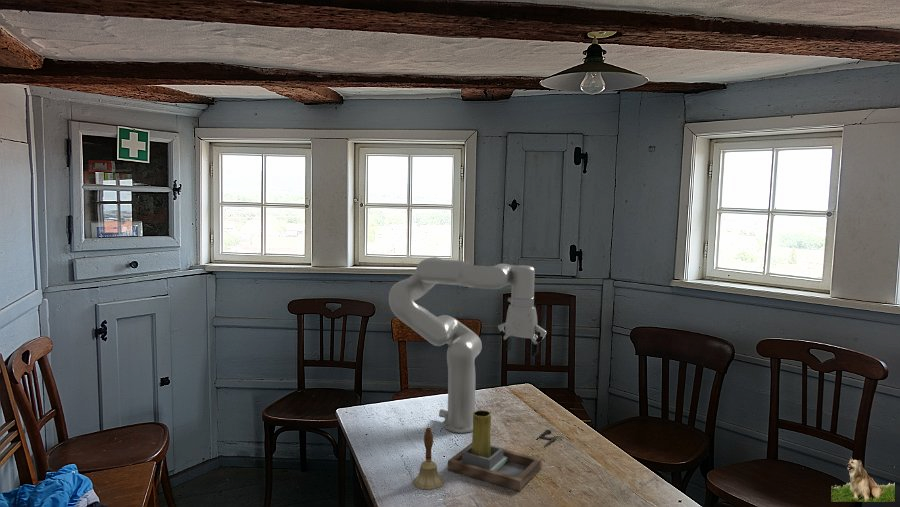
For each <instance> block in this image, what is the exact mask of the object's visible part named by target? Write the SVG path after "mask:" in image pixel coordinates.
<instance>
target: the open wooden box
mask: <svg viewBox="0 0 900 507" xmlns="http://www.w3.org/2000/svg"><path fill="white" fill-rule="evenodd" d="M471 445H472V442H471V443H470V444H468V445H467V446H466V447H464V448H463V449H461V450H460V451H459V452H458V453H456V454H455V455H454V456H452V457H451V458H449V459H448V460H447V471H448V472H452V473H455V474H458V473H459V475H463V476H465V477H469V478H471V479H476V480H480V481H482V482H486V483H489V484H493V485H496V486H500V487H502V488H503V487H504V488H506V489H509V490H514V491H517V492H521V491H522V490H523V489H525V487H526V486H527V485H528V484H529V483H530V481H531V480H532V479H534V477H535V476H536V475H537V474H538V473H539V472H540V471H541V470H542V464H543V463H542V462H543V461H542V460H543V459H542V458H540V457H536V456H533V455H529V454H525V453H521V452H516V451H512V450H507V449H504V453H503V456H506V457H508V461H507V462H506V463H505V464H504V465H503V466H502V467H501V468H499V469H498V470H497V471H493V470H489V469H486V468H482V467H478V466H475V465H471V464H468V463H464V462H461V460H462V452H463V451H465V450H466V449H467V448H469V447H470V446H471Z"/></svg>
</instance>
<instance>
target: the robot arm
mask: <svg viewBox="0 0 900 507" xmlns="http://www.w3.org/2000/svg"><path fill="white" fill-rule="evenodd" d="M535 271H536V270H535V268H534V267H533V266H532V265H525V264H524V265H522V264H521V265H513V264H508V263H498V264H495V265H494V266H491V265H489V266H488V265H487V266H486V265H475V264H474V265H473V264H469V263H467V262H466V261H463V260H455V259H454V260H453V259H451V260H450V259H441V258H440V257H435V256H434V257H429V258H426V259H425V258H424V259H423V260H421V261H420V262H419V263H418V264H417V266H416V268H415V272H414V273H413V274H412V275H410V276H409V277H407V278H405V279H402V280H399V281H397V282H396V283H394V284H393V285H392V286H391V287H390V290H389V293H388V305H389V308H390V311H392V313H393V315H394V316H395V317H396V318H397V319H398V320H400V321H401V322H402V323H403V324H405V325H406V326H407V327H409V328H410V329H412V330H413V331H414V332H415V333H416V334H418V335H419V336H420V337H422V338H423V339H425V340H426V341H427V342H428V343H430V345H432V346H435V347H442V346H444V345H445V344H446V345H448V348H447V351H446V363H447V373H448V374H447V377H448V378H447V386H448V387H447V409H441V408H440V410H439V413H438V417H440V418H444V421H443V422H442V425H443V428H444V429H446V430H447V431H449V432H452V433H460V434H464V433H471V432H472V433H473V413H474V412H475V411H476V366H475V359H476V358H477V357H478V356H479V355H480V353H481V352H482V350H483V349H482V348H483V344H482V340H481V337H480V336H479V335H478V334H476V333H475V332H474V331H472V329H470V328H469V327H467V326H466V325H465V324H463V323H462V322H460V320H458V319H456V318H455V317H453V316H450V315H446V314H441V315H439V316H436V314H433V313H431V312H430V311H429V310H428V309H427V308H425V307H424V306H421V305H420V304H417V303H416V301H417V300H419V299H420V298H422V297H424V296H425V295H426V294H427V293H428V292H429V291H430V290H431V289H432V288H433V287H435V286H436V285H450V286H461V287H465V288H467V287H468V288H475V289H486V290H487V289H488V290H498V289H502V288H504V287H505V286H510V285H511V296H510V297H508V298H507V302H509V303H510V305H509V306H508V308H507V312H506V319H505V322H502V323H501V324H499V325H497V328H498V330H499V333H500V335H501V337H503V340H504V349H505V350H504V351H505V352H509V351H511V350H512V338H511V337H516V338H523V339H530V340H531V341H532V345H531V355H532V357H535V356H537V355H538V354H539V351H540V350H539V348H540V347H539V346H540V345H539V344H540V342H542V341H543V340H544V339H545V337H546V335H547V332H548V331H547V330H545V329H544V328H542V327H541V326H540V325H538V314H537V309H536V306H535V278H536V277H535V274H536V273H535ZM538 333H540V335H539V337H538Z"/></svg>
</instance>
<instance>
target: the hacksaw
mask: <svg viewBox="0 0 900 507" xmlns="http://www.w3.org/2000/svg"><path fill="white" fill-rule="evenodd" d="M547 434H548V435H551V434H552V430H550V429H545V430H544V432H542V433H541V434H539V436H538V437H539V438H540V439H543V438H544V439H543V440H548V439H551V440H549V441H548V442H547V443H545V444H544V445H543V446H542V447H544V448H545V447H547V446H548V445H549V446H550V445H551V443H552V444H553V443H554V442H556V441H557V438H560V439H559V441H561V440H562V439H563V437H562V436H560V435H557V436H553V437H551V436H548V435H547ZM545 435H546V436H545ZM547 436H548V437H547ZM538 437H536V438H537V439H536V438H535V439H536V440H538V439H539V438H538ZM555 438H556V439H555ZM540 439H539V440H540ZM539 440H538V441H539ZM549 446H548V447H549ZM548 447H547V448H548ZM545 449H546V448H545Z"/></svg>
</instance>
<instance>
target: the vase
mask: <svg viewBox="0 0 900 507" xmlns="http://www.w3.org/2000/svg"><path fill="white" fill-rule="evenodd" d="M491 423H492V414H491V412H490V411H489V410H482V409H480V410H479V409H478V410H475V412H474V413H473V431H472V435H471V436H472V437H471V440H472V441H471V443H472V453H471V454H474V455H478V456H482V457H486V458H490V457H491V445H492V444H491V433H492V432H491V429H492V428H491V426H492V424H491Z"/></svg>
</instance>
